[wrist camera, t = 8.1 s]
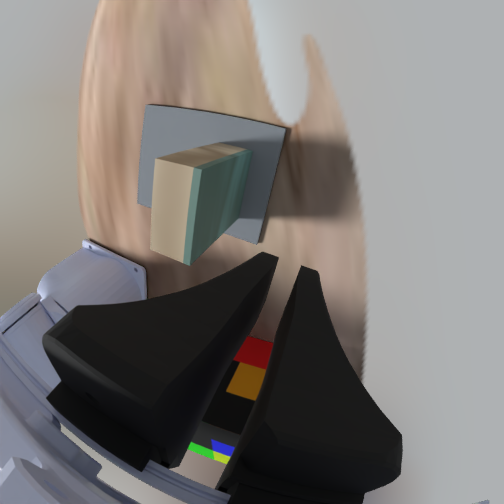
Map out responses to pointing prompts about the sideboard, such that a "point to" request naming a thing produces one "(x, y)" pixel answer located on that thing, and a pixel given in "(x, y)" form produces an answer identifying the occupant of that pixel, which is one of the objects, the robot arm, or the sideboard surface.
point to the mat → (209, 132)
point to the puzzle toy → (232, 402)
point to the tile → (196, 198)
